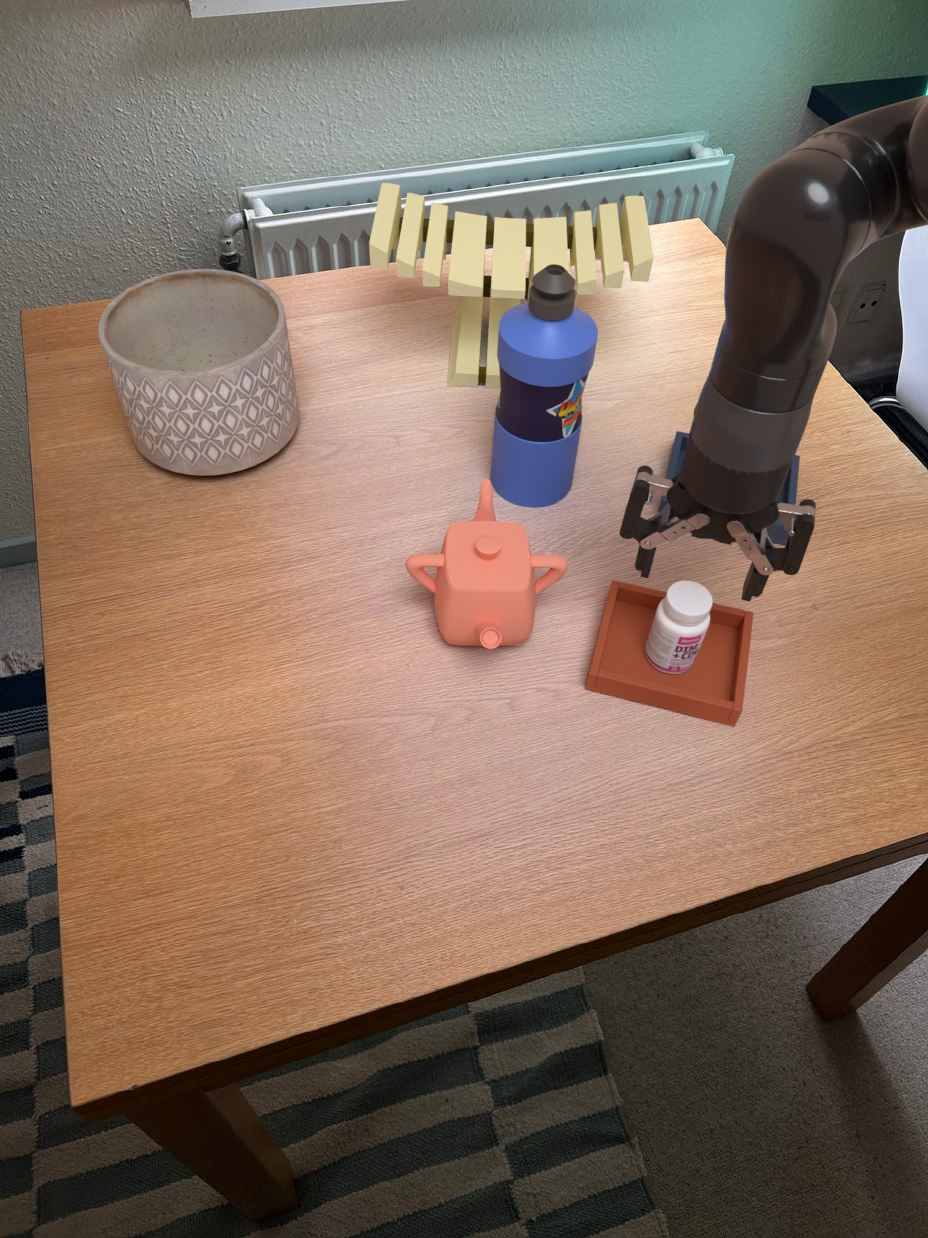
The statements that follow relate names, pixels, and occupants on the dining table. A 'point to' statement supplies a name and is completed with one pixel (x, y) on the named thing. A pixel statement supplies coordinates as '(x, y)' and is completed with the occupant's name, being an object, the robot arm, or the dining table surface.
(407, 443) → the dining table surface
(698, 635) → the pill bottle
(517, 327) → the water bottle
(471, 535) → the teapot
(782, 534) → the blue tray
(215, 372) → the planter
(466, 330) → the slatted curved stool
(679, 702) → the terracotta tray
